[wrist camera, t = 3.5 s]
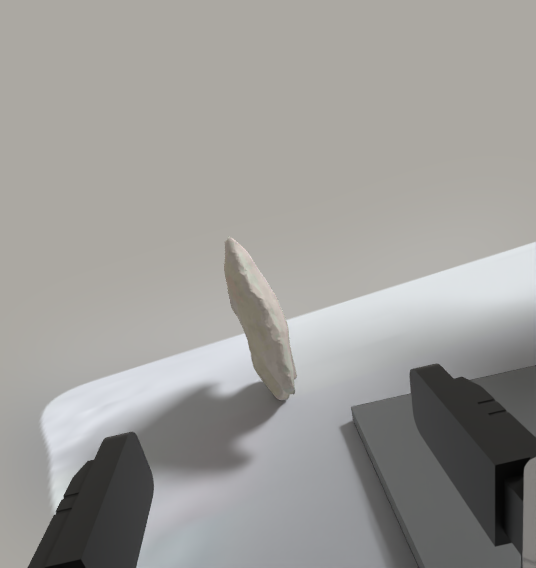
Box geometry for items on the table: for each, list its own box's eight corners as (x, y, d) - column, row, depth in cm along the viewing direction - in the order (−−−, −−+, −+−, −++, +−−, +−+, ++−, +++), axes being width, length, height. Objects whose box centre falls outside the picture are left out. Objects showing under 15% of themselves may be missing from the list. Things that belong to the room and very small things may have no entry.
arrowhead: (242, 373, 25) (203, 228, 22) (277, 360, 26) (245, 217, 23) (280, 453, 18) (231, 254, 15) (329, 434, 18) (292, 237, 15)
